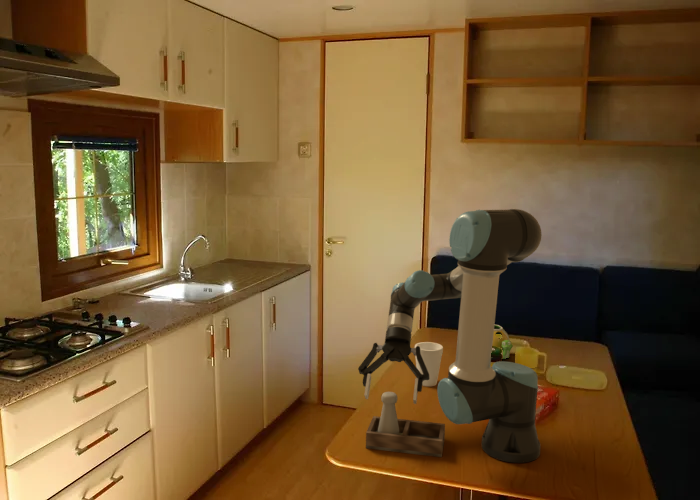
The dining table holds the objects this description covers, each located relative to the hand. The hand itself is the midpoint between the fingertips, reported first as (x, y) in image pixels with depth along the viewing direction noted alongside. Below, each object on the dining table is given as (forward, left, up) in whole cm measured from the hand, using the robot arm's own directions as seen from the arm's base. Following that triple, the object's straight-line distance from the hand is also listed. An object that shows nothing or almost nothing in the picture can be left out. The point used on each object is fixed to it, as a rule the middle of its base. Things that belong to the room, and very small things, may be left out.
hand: (390, 399), depth 171 cm
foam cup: (+24, -33, -10) cm, 42 cm away
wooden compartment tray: (-7, 0, -10) cm, 12 cm away
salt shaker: (-4, +3, -9) cm, 11 cm away
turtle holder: (+31, -72, -10) cm, 79 cm away
